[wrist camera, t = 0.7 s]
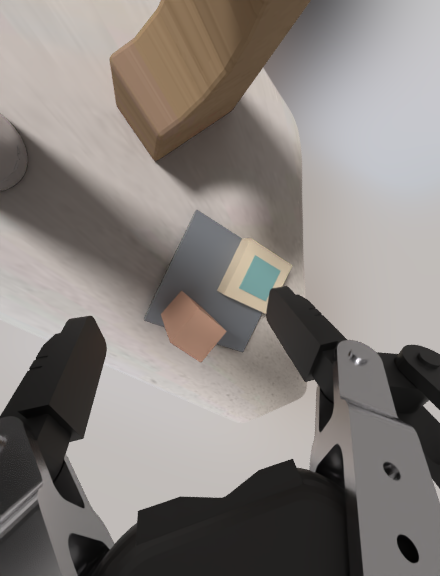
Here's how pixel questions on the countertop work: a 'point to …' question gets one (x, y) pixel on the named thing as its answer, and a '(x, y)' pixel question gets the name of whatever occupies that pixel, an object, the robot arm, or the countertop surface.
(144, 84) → the decorative block
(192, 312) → the terracotta block
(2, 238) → the countertop surface
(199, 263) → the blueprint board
